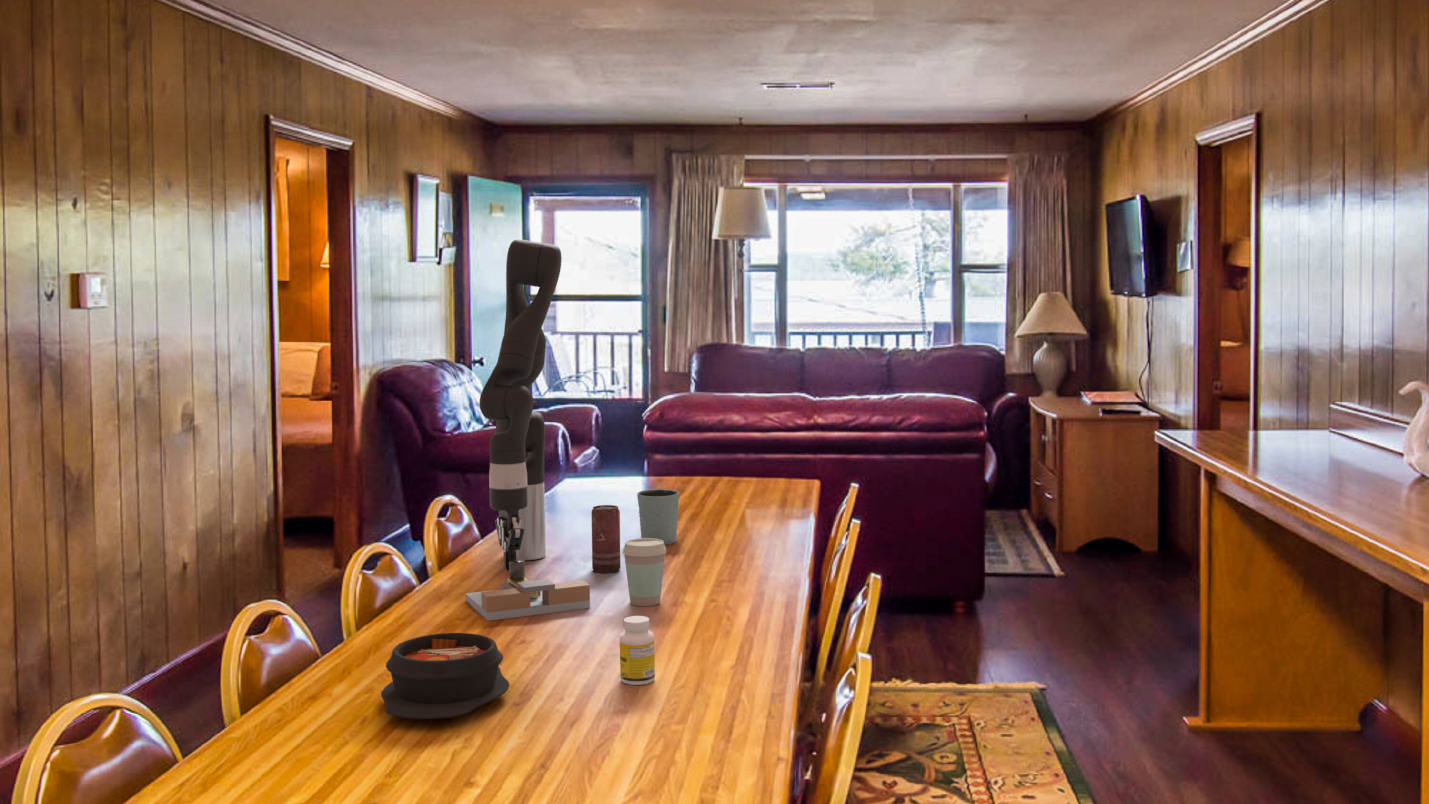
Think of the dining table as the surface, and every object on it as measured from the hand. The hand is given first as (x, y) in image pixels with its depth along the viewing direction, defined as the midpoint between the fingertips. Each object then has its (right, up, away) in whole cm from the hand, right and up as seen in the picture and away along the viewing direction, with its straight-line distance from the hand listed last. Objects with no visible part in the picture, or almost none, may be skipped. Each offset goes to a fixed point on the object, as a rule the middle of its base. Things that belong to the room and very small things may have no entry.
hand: (510, 569), depth 243 cm
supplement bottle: (+29, -10, -55) cm, 63 cm away
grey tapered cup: (+28, 0, +49) cm, 56 cm away
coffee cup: (+28, -6, -8) cm, 29 cm away
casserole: (+1, -11, -64) cm, 65 cm away
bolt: (+4, -4, -7) cm, 9 cm away
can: (+18, -3, +19) cm, 26 cm away
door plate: (+5, -6, -9) cm, 12 cm away
